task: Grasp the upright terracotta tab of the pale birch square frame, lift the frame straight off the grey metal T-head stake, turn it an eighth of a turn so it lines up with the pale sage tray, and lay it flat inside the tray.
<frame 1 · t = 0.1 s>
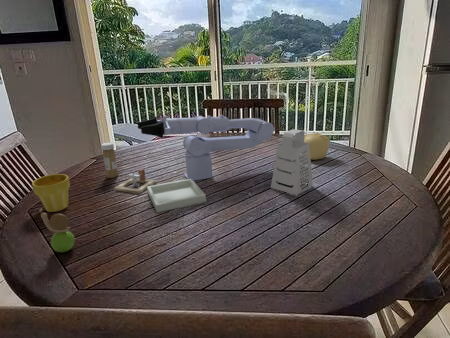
hand: (139, 127, 116), 22 cm above the table, tool horizontal, fingers open, 7 cm apart
sage tray: (175, 197, 113), on the table
grater: (291, 187, 117), on the table
birch frame: (135, 186, 123), on the table
sprinkles bottle: (112, 176, 134), on the table
plant pot: (57, 208, 109), on the table
snail figurine: (63, 251, 85), on the table
T-head stake: (135, 186, 123), on the table
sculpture: (313, 158, 146), on the table
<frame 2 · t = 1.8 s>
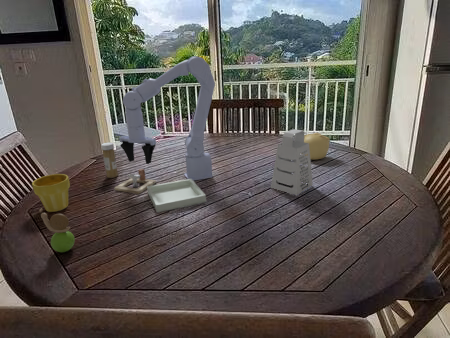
hand: (140, 162, 124), 8 cm above the table, tool pointing down, fingers open, 7 cm apart
nothing on the table moved.
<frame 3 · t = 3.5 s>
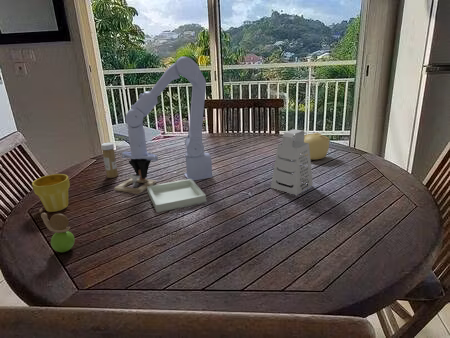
hand: (142, 177, 126), 2 cm above the table, tool pointing down, fingers closed on birch frame
birch frame: (135, 186, 123), on the table, touching gripper
everything else where it was.
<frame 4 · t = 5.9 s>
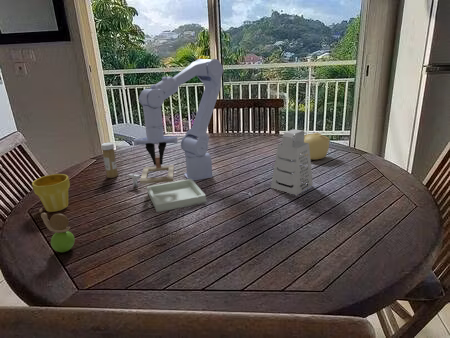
hand: (158, 163, 117), 9 cm above the table, tool pointing down, fingers closed on birch frame
birch frame: (158, 175, 114), point 7 cm above the table, tilted 5°, touching gripper
everything else where it was.
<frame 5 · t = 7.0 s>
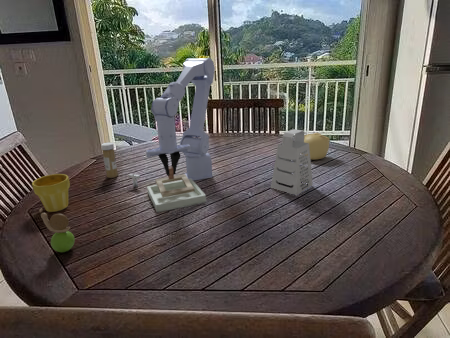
hand: (170, 174, 114), 7 cm above the table, tool pointing down, fingers closed on birch frame
birch frame: (174, 186, 111), point 4 cm above the table, tilted 8°, touching gripper
everything else where it was.
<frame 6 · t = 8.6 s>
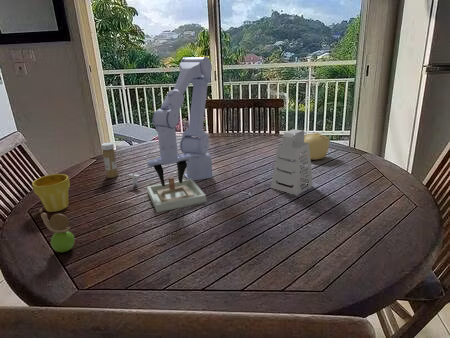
hand: (171, 183, 115), 3 cm above the table, tool pointing down, fingers open, 5 cm apart
birch frame: (175, 195, 113), resting on sage tray
everything else where it was.
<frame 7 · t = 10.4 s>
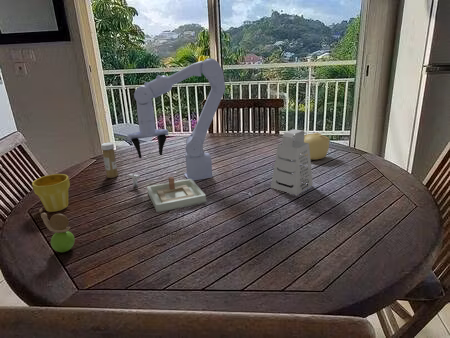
hand: (150, 156, 125), 9 cm above the table, tool pointing down, fingers open, 7 cm apart
nothing on the table moved.
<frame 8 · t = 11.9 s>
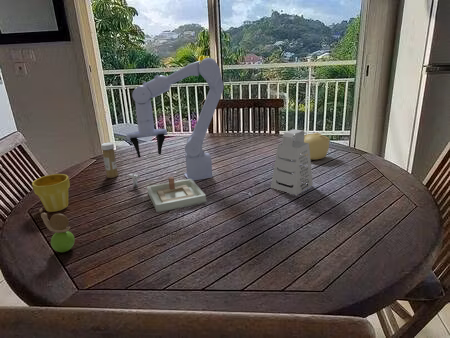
hand: (149, 155, 126), 9 cm above the table, tool pointing down, fingers open, 7 cm apart
nothing on the table moved.
at the end: birch frame 0.3 cm off-centre on the sage tray, point 0.5 cm above the sage tray's base; birch frame tilted 0°; the gripper is holding nothing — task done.
